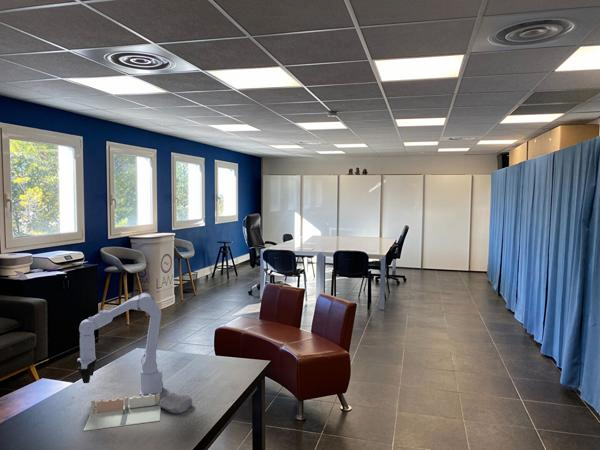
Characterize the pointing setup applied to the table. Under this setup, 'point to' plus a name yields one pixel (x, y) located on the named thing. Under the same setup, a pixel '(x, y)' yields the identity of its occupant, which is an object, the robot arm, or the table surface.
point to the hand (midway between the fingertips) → (88, 379)
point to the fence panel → (107, 405)
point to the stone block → (176, 403)
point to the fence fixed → (142, 401)
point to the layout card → (123, 417)
